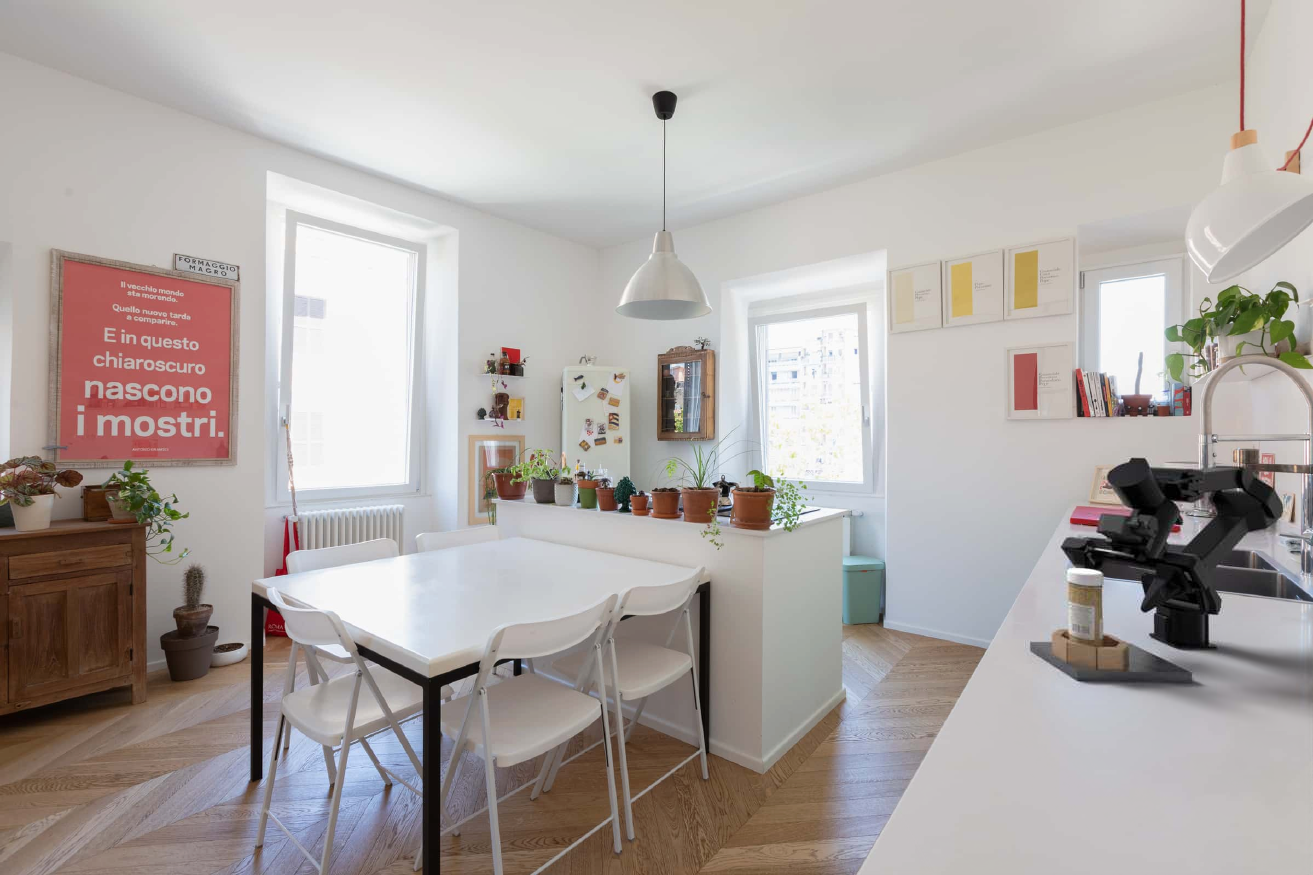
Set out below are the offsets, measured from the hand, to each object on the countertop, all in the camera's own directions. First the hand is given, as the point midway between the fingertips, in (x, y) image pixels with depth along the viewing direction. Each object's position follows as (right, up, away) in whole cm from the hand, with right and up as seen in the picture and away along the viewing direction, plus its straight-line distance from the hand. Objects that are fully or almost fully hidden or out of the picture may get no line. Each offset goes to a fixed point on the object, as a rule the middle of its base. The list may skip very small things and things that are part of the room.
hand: (1108, 603), depth 93 cm
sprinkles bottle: (-5, -8, -2) cm, 10 cm away
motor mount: (-2, -9, -1) cm, 10 cm away
